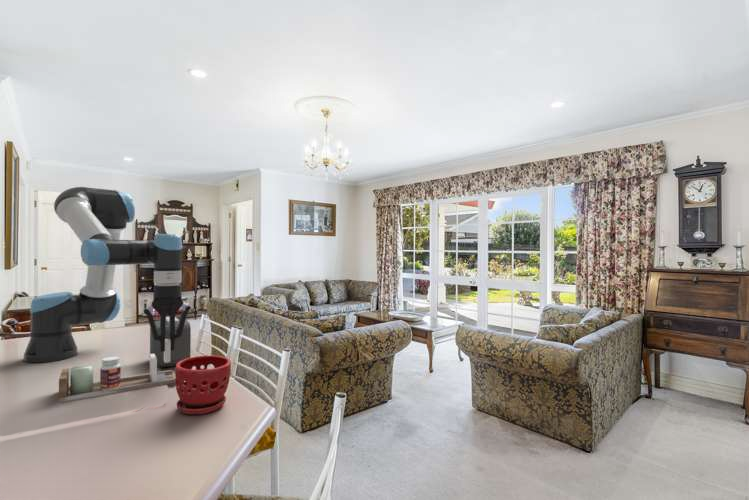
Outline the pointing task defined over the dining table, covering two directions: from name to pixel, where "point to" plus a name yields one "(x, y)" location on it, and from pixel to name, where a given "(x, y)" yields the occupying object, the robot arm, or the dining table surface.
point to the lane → (125, 385)
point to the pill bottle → (110, 373)
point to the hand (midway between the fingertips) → (167, 361)
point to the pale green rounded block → (81, 379)
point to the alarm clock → (180, 348)
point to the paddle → (155, 370)
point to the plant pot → (202, 383)
